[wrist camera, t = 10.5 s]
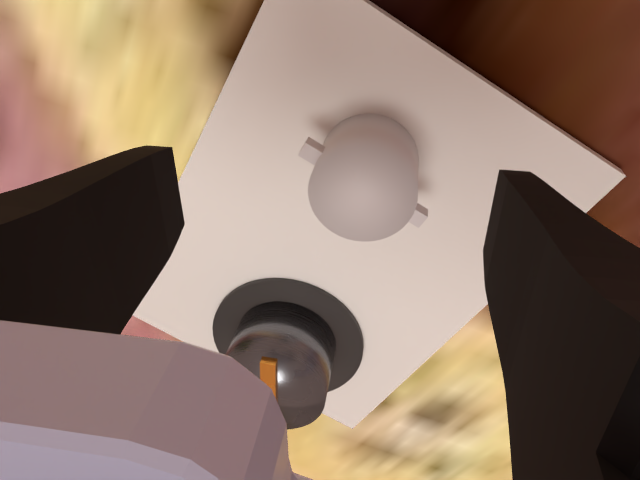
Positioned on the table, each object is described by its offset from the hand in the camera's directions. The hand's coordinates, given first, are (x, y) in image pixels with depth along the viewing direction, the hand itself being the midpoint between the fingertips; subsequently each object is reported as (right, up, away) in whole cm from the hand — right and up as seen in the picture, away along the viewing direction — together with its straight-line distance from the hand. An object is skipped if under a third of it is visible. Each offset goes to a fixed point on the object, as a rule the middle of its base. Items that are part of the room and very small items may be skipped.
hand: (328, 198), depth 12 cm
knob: (-2, -6, +16) cm, 17 cm away
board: (0, -1, +13) cm, 13 cm away
